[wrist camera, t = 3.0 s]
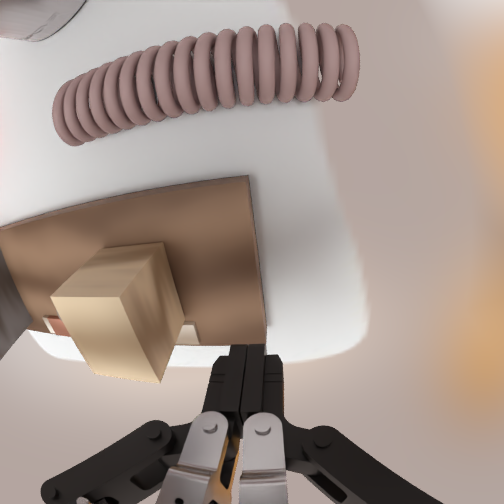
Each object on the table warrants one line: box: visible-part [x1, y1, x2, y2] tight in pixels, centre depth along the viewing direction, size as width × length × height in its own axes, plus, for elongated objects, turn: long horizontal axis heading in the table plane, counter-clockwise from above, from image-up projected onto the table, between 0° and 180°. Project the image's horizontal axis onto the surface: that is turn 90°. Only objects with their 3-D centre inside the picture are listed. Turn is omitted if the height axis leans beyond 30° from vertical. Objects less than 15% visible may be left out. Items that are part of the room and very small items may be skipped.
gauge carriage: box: [50, 242, 185, 383], centre depth 16 cm, size 8×8×6 cm
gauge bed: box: [0, 175, 267, 360], centre depth 16 cm, size 12×28×10 cm, turn 97°
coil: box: [52, 23, 360, 146], centre depth 12 cm, size 5×5×18 cm
